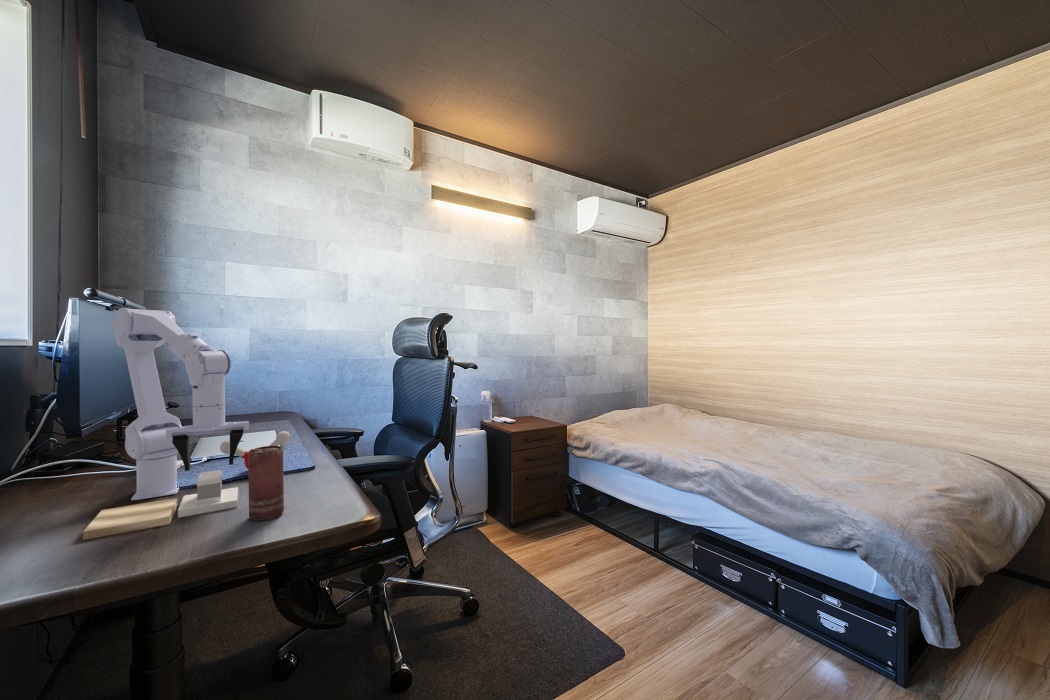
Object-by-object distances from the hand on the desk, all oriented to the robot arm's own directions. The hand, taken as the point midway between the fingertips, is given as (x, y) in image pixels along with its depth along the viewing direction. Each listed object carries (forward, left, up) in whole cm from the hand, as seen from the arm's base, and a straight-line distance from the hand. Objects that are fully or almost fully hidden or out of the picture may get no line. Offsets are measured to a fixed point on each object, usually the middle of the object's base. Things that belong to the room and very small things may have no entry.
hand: (209, 466), depth 92 cm
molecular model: (-24, +9, -9) cm, 27 cm away
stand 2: (0, 0, -8) cm, 8 cm away
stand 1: (+2, -12, -8) cm, 15 cm away
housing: (0, 0, -7) cm, 7 cm away
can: (+14, +10, -9) cm, 19 cm away
